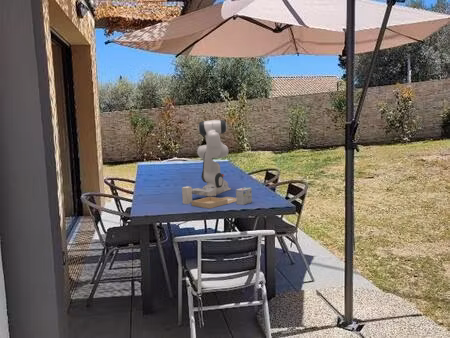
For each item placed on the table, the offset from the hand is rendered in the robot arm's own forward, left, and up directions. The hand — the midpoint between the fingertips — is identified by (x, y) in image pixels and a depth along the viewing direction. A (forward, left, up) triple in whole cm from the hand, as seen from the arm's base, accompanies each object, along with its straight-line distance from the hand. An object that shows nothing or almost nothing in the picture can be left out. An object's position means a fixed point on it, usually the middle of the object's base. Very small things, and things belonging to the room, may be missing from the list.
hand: (194, 193), depth 335 cm
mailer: (-7, +18, -6) cm, 20 cm away
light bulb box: (-16, +35, -6) cm, 39 cm away
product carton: (+7, 0, -6) cm, 10 cm away
